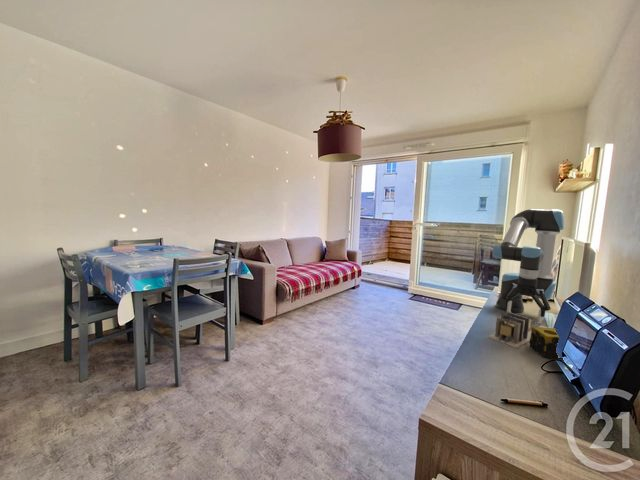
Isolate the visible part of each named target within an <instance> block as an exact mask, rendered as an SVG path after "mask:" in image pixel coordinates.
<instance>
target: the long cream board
mask: <svg viewBox="0 0 640 480" xmlns="http://www.w3.org/2000/svg"><path fill="white" fill-rule="evenodd" d="M532 327H544V328H548V327H547V326H544V325H542V322H541V323H537V319H531V324H530V328H529V329H528V337H527V339H525V338H523V336H522V342H520V341H519V342H518V343H517V344H515V343H513V340H514V336H512V337H508V336H505V335H503V334H500V336H499V337H496V336H495V333H494V334H491V335H489V339H492V340H494V341H496V342H497V341H498V342H500V343H502V344H505V345H508V346H511V347H514V348H515V349H519V348H520V347H522V346H524V345H526V344H528V343H529V342H530V337H531V328H532ZM523 332H524V331H523Z"/></svg>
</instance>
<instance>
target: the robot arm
mask: <svg viewBox="0 0 640 480" xmlns="http://www.w3.org/2000/svg"><path fill="white" fill-rule="evenodd" d="M564 217H565V216H564V212H563V210H561V209H552V208H551V209H550V208H549V209H543V208H542V209H541V208H540V209H539V208H537V209H535V208H529V209H525V210H522V211H519V212H517V214H515V215H514V216H513V217H511V220H510V222H509V228H508V229H507V232H506V233H505V235H504V237H503V240H502V241H501V243H500V244H495V245H494V246H493V247H492V258H494V259H500V260H506V261H507V260H508V261H515V262H520V264H519V265H520V266H519V272H517V273H516V272H509V273H508V272H507V273H504V274H503V275H502V276H501V285H500V295H499V297H498V298H497V300H496V303H495V307H496V308H497V309H500V310H502V311H506V313H507V312H510V313H519V314H520V313H524V312H525V306H524V303H523V302H524V301H523V296H525V297H530V298H532V300H533V301H534V302H535V304H536V305H537V307H538V308H539V310H538V314H537V315H538V316H537V321H536V323H541V324H542V321H543V318H544V317H546V311H551V309H552V308H551V306H550V304H549V300H551V299H552V297H553V295H554V292H555V289H556V286H557V282H556V281H554V277H553V276H552V275H551V273H552V268H553V267H552V266H553V259H554V253H555V245H556V238H557V235H558V234H560V232H561V231H563V230H564V228H565V219H564ZM530 228H531V229H534V232H535V233H536V234H537V236H536V243H535V244H536V245H535V246H533V245H526V246H525V245H524V246H523V247H520V246H519V243H520V241H521V239H522V236H523V234H524V232H525V231H526V230H527V229H530Z"/></svg>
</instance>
